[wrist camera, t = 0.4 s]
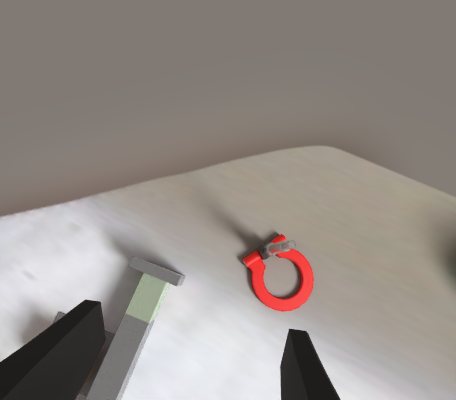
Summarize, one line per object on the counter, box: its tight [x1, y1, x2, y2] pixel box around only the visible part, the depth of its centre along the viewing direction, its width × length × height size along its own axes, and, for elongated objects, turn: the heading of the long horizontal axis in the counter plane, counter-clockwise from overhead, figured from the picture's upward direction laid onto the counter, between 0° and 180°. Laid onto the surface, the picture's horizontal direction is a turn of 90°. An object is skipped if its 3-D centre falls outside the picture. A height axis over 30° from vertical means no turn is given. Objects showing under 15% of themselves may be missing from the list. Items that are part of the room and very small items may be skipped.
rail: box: [86, 257, 185, 400], centre depth 33 cm, size 19×6×6 cm, turn 159°
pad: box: [53, 312, 115, 396], centre depth 35 cm, size 7×8×1 cm
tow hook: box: [243, 234, 314, 311], centre depth 33 cm, size 8×13×9 cm
